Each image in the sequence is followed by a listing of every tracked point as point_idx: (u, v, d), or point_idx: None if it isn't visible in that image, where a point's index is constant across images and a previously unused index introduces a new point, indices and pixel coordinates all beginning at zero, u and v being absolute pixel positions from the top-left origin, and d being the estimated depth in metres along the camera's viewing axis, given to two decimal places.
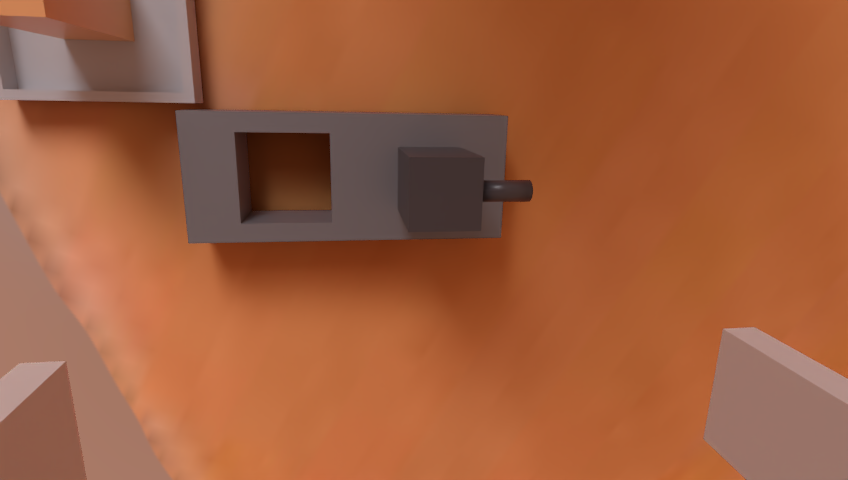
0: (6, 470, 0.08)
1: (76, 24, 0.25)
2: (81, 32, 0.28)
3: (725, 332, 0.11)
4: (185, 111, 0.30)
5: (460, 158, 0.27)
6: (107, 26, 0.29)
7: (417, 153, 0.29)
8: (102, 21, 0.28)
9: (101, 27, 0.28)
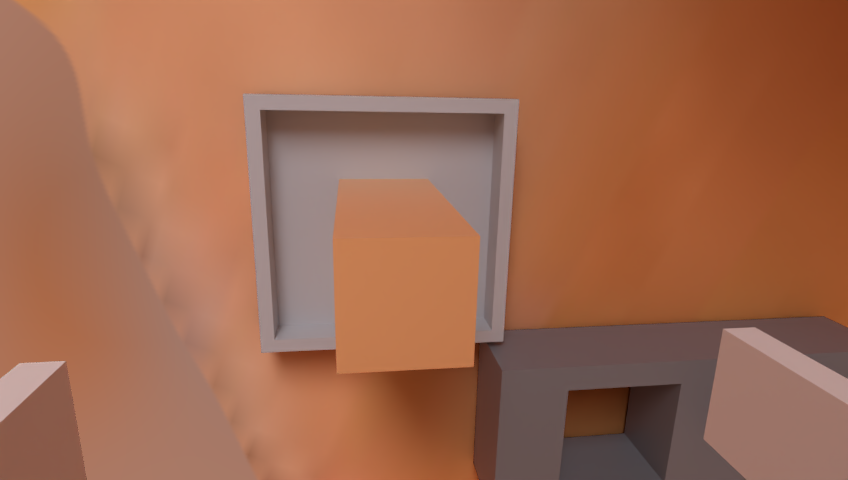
0: (6, 470, 0.08)
1: None
2: None
3: (725, 332, 0.11)
4: (513, 370, 0.23)
5: None
6: None
7: None
8: None
9: None
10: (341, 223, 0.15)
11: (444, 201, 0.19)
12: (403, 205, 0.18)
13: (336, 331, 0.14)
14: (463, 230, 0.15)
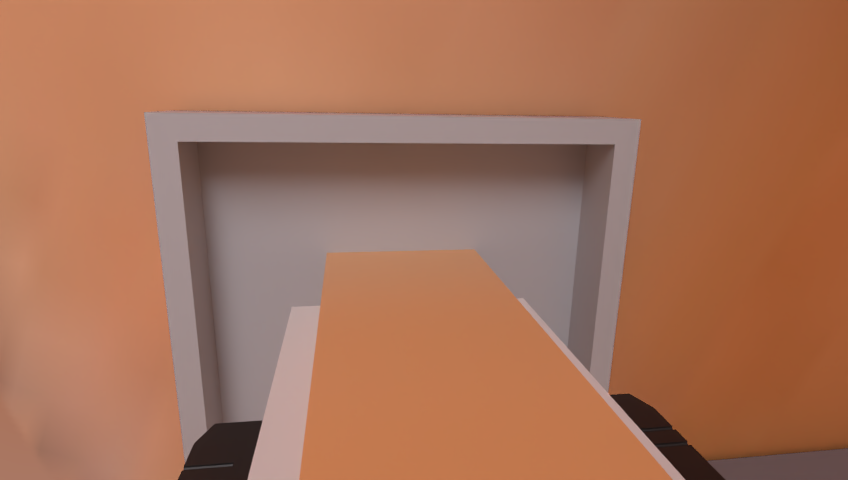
0: None
1: None
2: None
3: None
4: None
5: None
6: None
7: None
8: None
9: None
10: (320, 460, 0.06)
11: (534, 328, 0.09)
12: (457, 349, 0.09)
13: None
14: None
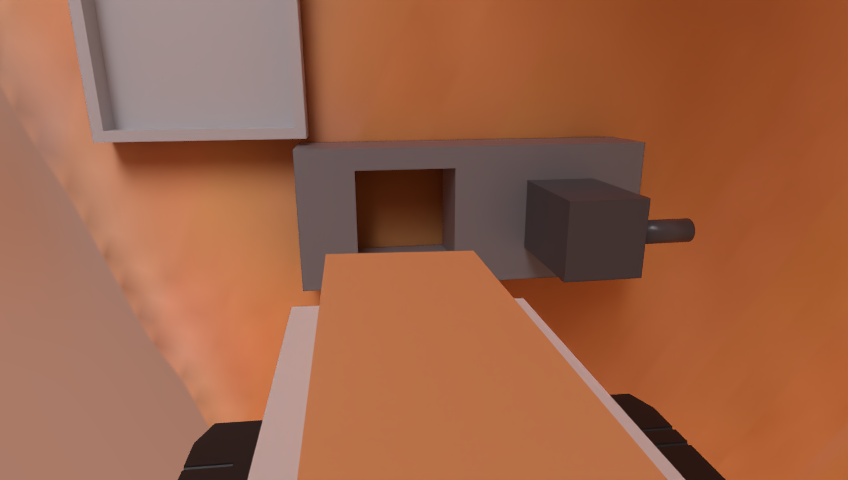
0: None
1: None
2: None
3: None
4: (303, 150, 0.28)
5: (624, 200, 0.25)
6: None
7: (567, 193, 0.26)
8: None
9: None
10: (318, 463, 0.06)
11: (533, 330, 0.09)
12: (455, 351, 0.09)
13: None
14: None
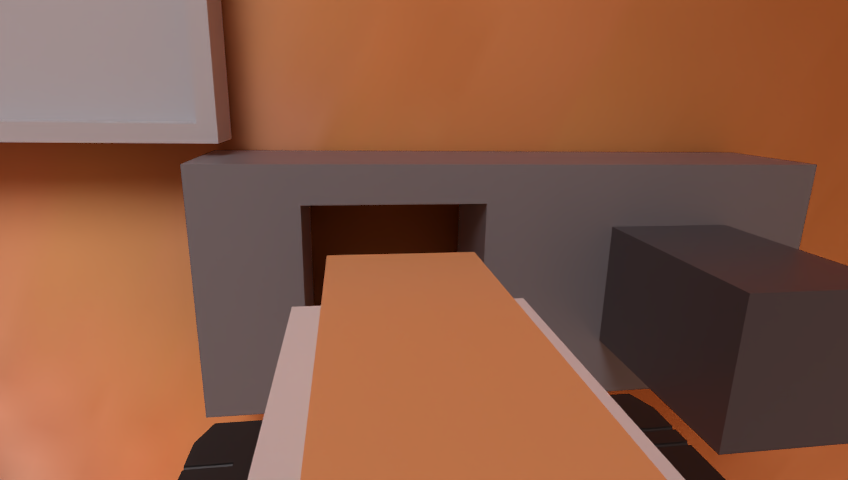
0: None
1: None
2: None
3: None
4: (201, 165, 0.15)
5: None
6: None
7: (717, 264, 0.13)
8: None
9: None
10: (320, 466, 0.06)
11: (534, 332, 0.09)
12: (457, 353, 0.09)
13: None
14: None
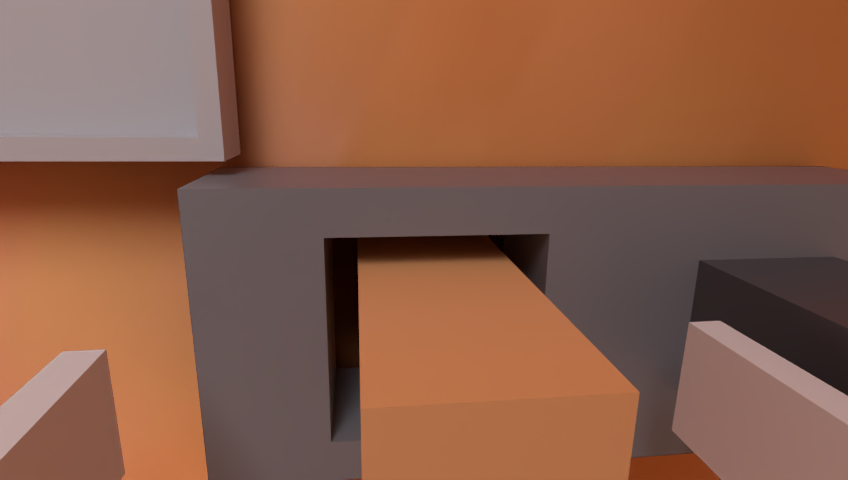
0: (58, 450, 0.08)
1: None
2: None
3: (691, 325, 0.11)
4: (203, 190, 0.12)
5: None
6: None
7: None
8: None
9: None
10: (372, 351, 0.09)
11: (525, 282, 0.12)
12: (465, 293, 0.11)
13: None
14: (598, 371, 0.08)
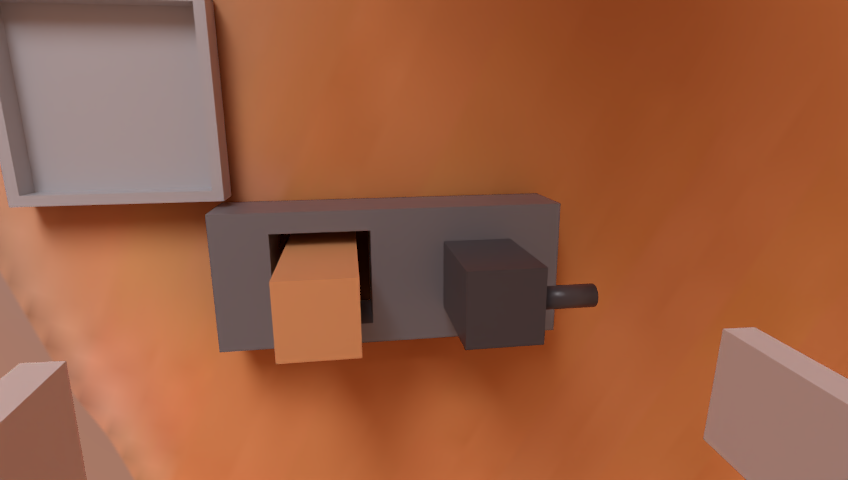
0: (6, 470, 0.08)
1: None
2: None
3: (725, 332, 0.11)
4: (215, 215, 0.28)
5: (521, 269, 0.25)
6: None
7: (471, 259, 0.26)
8: None
9: None
10: (278, 270, 0.25)
11: (354, 251, 0.28)
12: (325, 255, 0.28)
13: (274, 337, 0.24)
14: (351, 274, 0.24)
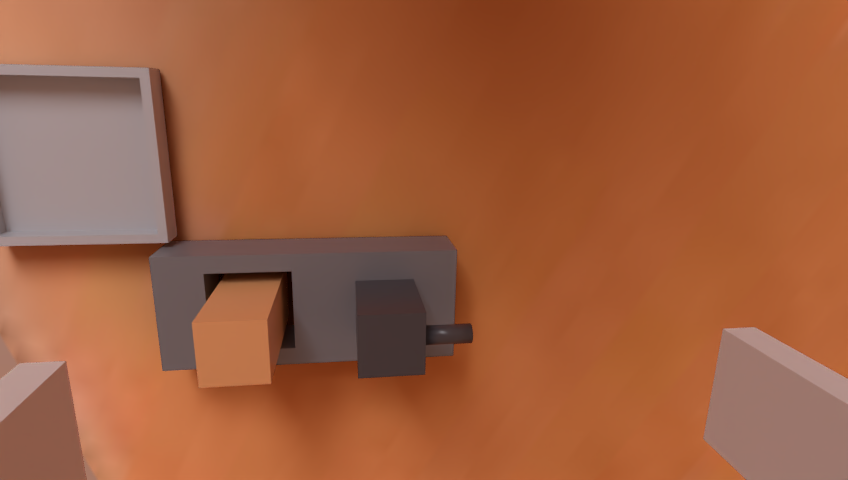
0: (6, 470, 0.08)
1: None
2: None
3: (725, 332, 0.11)
4: (158, 257, 0.33)
5: (404, 314, 0.30)
6: (283, 331, 0.36)
7: (367, 302, 0.32)
8: (282, 331, 0.36)
9: (282, 338, 0.35)
10: (203, 310, 0.30)
11: (275, 290, 0.34)
12: (248, 294, 0.33)
13: (196, 367, 0.29)
14: (262, 315, 0.30)
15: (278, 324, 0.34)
